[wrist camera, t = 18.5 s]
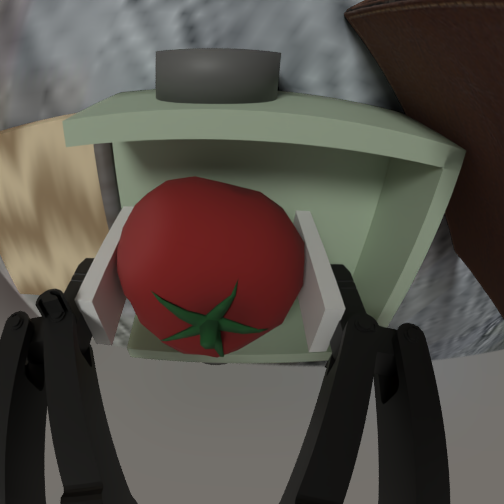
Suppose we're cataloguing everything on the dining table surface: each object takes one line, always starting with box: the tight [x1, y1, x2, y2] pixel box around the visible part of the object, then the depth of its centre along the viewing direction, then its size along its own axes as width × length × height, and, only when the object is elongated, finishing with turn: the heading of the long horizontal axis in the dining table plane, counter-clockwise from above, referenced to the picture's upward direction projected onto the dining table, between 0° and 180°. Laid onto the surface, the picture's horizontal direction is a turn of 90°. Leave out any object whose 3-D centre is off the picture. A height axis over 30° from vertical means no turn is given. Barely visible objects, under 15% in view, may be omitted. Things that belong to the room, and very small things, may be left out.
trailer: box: [62, 48, 466, 365], centre depth 15 cm, size 18×15×6 cm
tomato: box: [117, 176, 304, 358], centre depth 13 cm, size 8×8×7 cm
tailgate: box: [0, 113, 127, 298], centre depth 15 cm, size 13×1×11 cm
